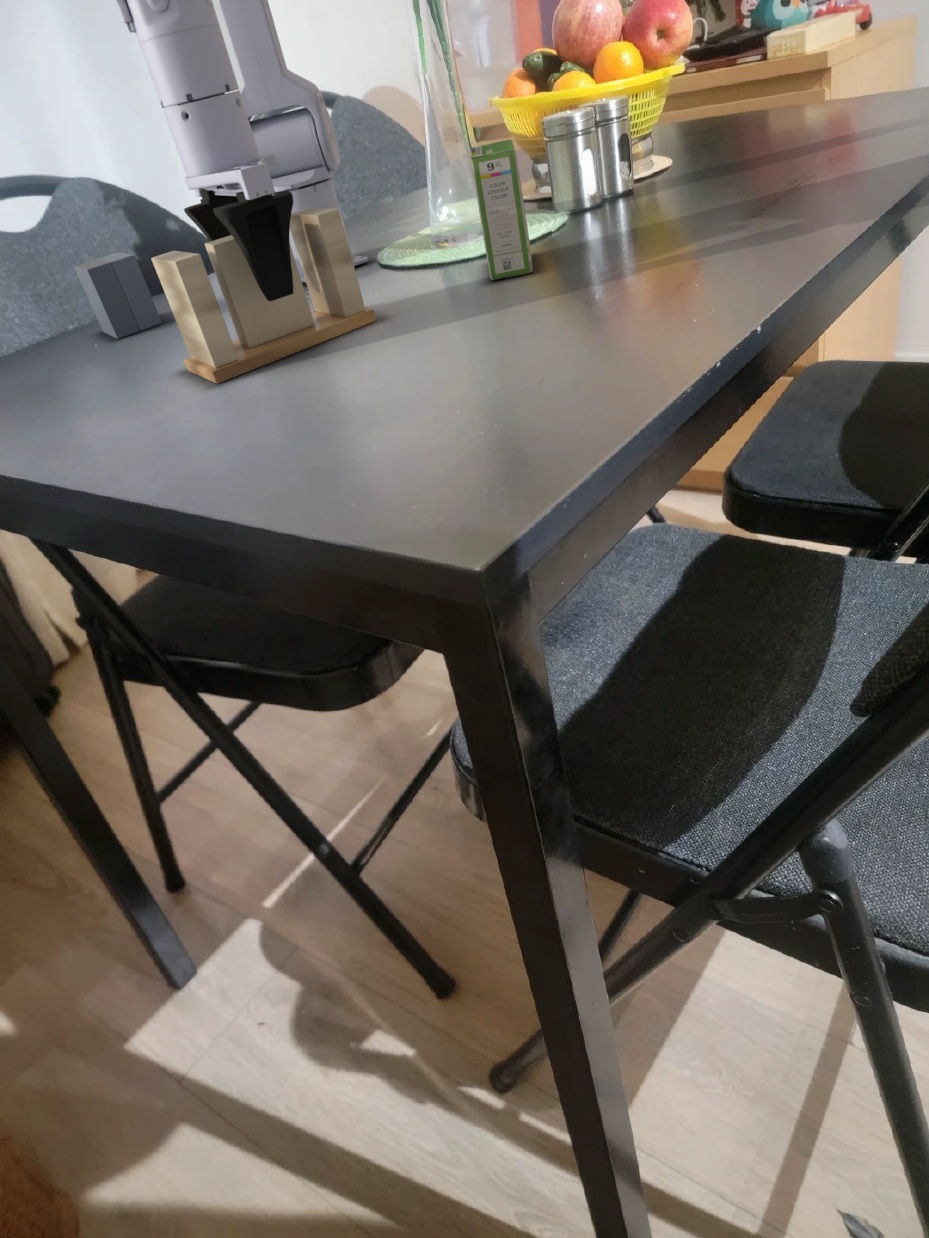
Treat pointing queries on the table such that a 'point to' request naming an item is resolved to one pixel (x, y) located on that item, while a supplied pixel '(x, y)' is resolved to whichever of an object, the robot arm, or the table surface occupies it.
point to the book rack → (333, 316)
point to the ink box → (501, 207)
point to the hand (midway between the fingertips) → (265, 292)
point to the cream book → (256, 297)
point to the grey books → (118, 294)
